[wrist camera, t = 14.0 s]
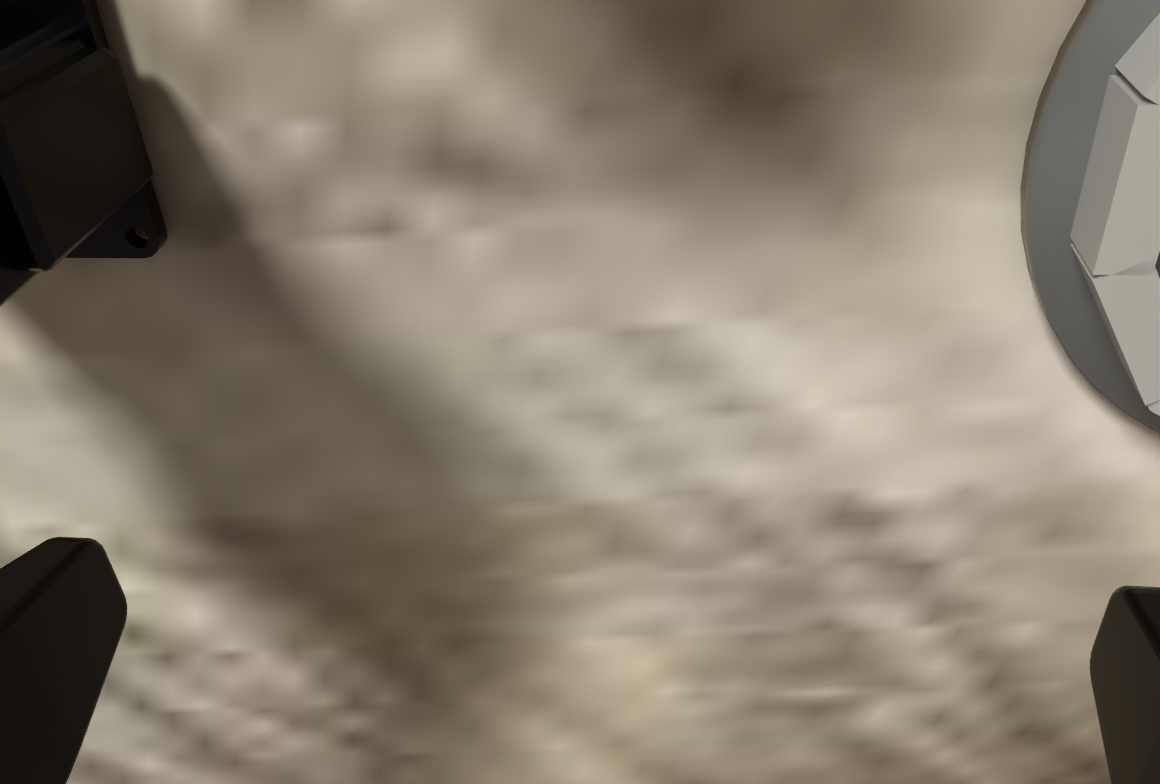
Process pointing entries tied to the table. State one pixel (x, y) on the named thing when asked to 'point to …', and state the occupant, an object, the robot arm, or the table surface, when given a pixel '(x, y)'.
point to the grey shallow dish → (1101, 201)
